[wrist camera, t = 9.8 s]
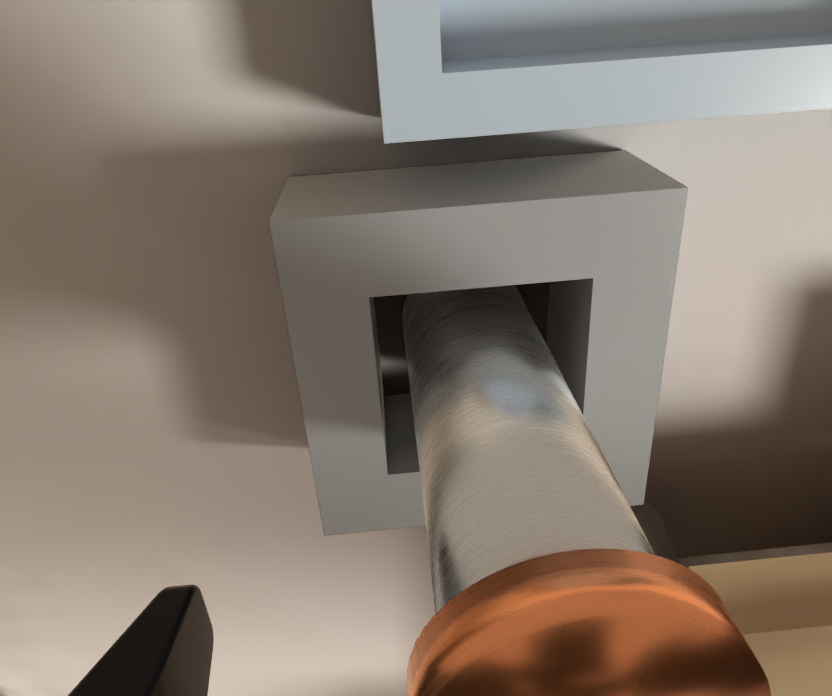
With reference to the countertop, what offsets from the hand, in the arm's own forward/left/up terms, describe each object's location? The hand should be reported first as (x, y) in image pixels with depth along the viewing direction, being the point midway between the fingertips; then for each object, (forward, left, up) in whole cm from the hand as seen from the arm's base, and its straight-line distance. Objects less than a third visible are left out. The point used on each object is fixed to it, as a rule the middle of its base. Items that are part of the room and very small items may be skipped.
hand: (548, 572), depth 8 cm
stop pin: (0, 0, -8) cm, 8 cm away
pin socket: (0, 0, -8) cm, 8 cm away
